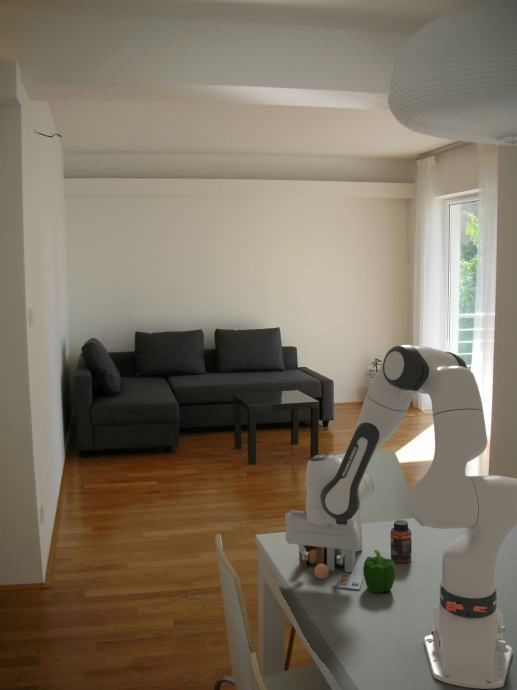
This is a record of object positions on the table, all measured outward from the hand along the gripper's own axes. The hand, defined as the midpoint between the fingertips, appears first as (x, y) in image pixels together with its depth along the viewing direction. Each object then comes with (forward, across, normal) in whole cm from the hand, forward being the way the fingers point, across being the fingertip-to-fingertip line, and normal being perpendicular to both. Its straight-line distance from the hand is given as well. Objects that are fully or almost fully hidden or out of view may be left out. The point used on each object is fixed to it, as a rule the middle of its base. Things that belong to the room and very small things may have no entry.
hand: (322, 561), depth 193 cm
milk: (+5, 0, +24) cm, 25 cm away
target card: (+4, +8, -2) cm, 9 cm away
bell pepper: (+5, +16, -4) cm, 17 cm away
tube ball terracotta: (+5, -4, +8) cm, 10 cm away
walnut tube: (+5, -4, +8) cm, 10 cm away
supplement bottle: (+5, +20, +16) cm, 26 cm away
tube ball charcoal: (+5, +4, +8) cm, 10 cm away
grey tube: (+5, +4, +8) cm, 10 cm away
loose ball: (+4, 0, -1) cm, 5 cm away
